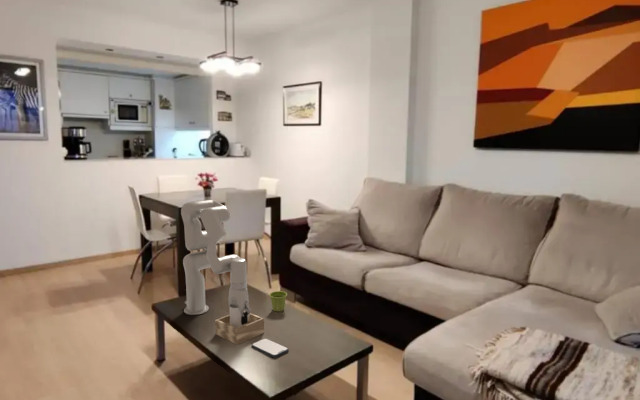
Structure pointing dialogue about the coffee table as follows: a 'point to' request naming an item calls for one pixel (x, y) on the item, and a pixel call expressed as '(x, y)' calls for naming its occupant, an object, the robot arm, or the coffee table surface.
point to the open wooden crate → (239, 329)
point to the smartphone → (270, 348)
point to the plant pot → (278, 300)
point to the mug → (236, 317)
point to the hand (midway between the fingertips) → (239, 321)
